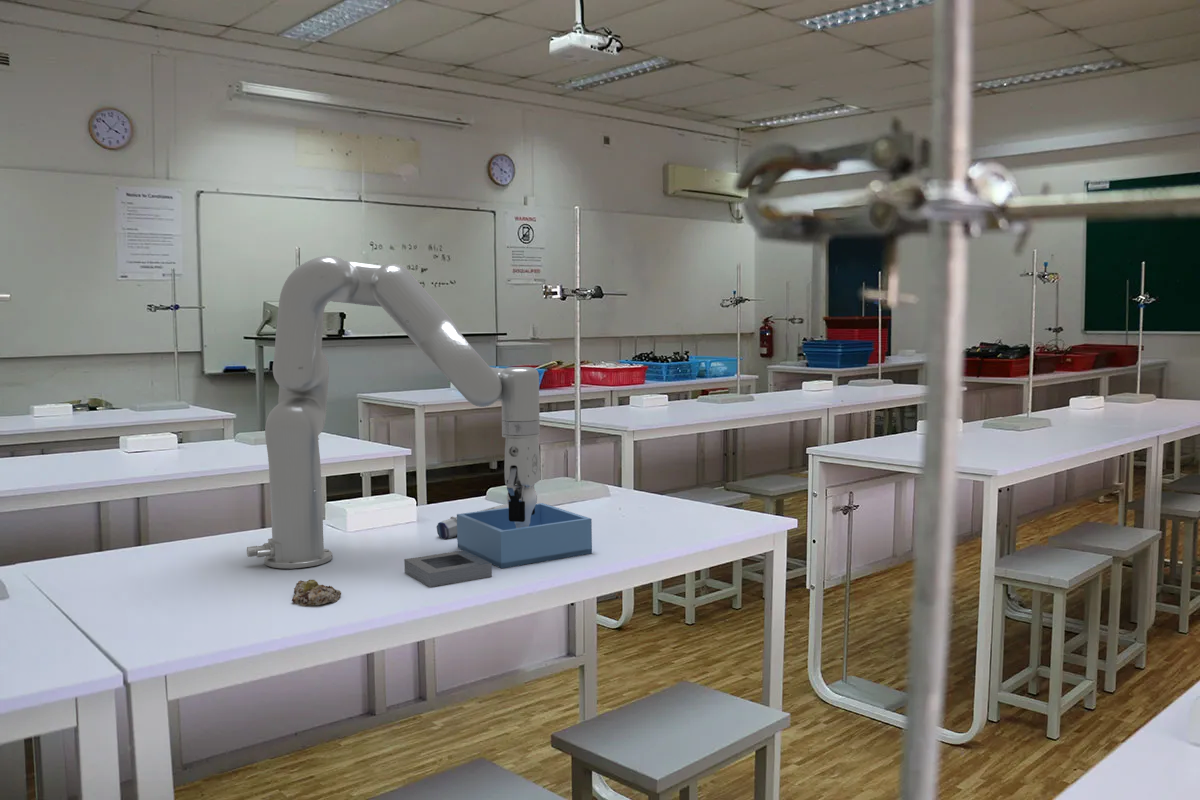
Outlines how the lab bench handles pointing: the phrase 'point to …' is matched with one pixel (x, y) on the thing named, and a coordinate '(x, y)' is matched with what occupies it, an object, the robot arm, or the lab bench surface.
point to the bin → (524, 536)
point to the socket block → (447, 568)
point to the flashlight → (455, 525)
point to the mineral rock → (314, 593)
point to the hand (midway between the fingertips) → (522, 516)
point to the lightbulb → (527, 505)
